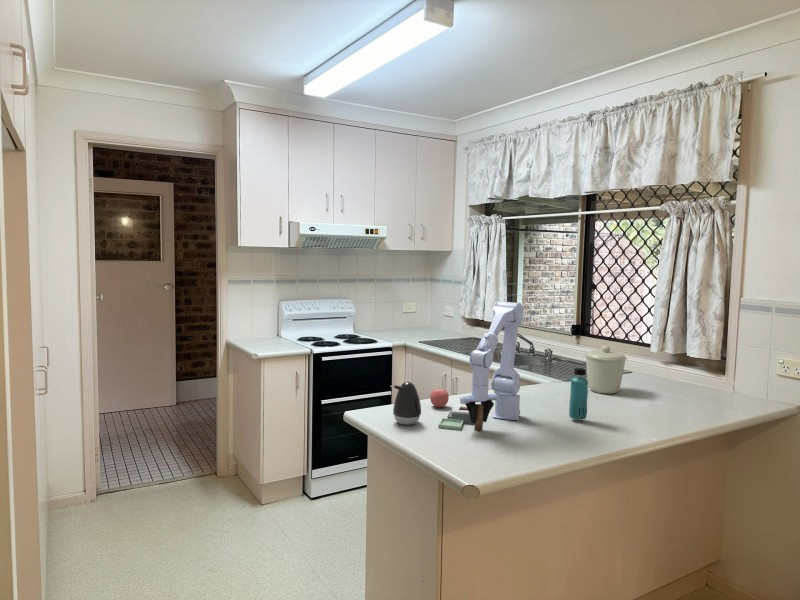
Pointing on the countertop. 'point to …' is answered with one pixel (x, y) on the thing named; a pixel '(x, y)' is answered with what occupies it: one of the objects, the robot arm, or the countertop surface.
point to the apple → (439, 397)
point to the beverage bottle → (578, 395)
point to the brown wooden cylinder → (479, 418)
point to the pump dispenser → (407, 404)
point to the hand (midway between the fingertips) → (478, 422)
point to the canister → (604, 370)
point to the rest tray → (451, 424)
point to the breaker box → (460, 414)
